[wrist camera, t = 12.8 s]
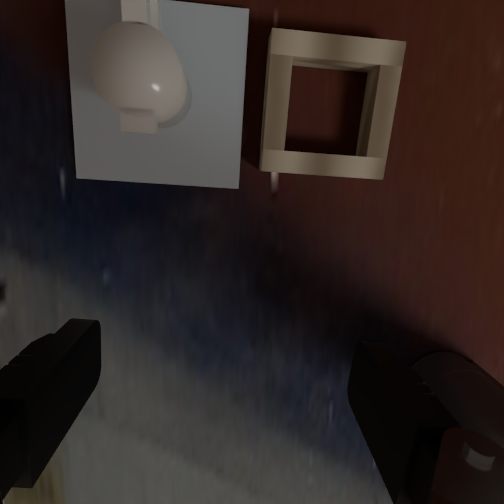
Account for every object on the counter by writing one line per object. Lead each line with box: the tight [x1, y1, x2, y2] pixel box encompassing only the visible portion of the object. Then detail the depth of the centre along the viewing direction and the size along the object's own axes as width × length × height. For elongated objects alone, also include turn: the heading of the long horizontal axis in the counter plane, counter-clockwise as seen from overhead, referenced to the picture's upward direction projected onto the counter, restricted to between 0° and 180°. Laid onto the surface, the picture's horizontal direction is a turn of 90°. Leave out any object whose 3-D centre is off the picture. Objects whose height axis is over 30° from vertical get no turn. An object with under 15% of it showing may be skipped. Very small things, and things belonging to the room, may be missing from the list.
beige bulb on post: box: [90, 0, 192, 134], centre depth 27 cm, size 12×6×9 cm, turn 177°
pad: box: [65, 0, 249, 189], centre depth 32 cm, size 16×16×1 cm
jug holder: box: [259, 28, 406, 180], centre depth 33 cm, size 12×12×3 cm
